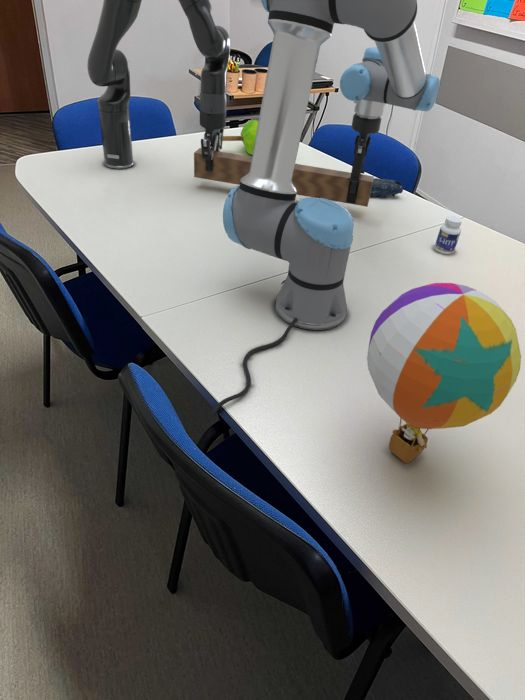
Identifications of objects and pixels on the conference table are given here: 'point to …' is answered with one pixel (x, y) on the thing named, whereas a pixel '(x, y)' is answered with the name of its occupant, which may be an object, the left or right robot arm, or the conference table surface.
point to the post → (303, 179)
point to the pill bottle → (448, 235)
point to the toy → (441, 360)
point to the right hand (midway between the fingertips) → (351, 198)
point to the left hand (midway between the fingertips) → (212, 168)
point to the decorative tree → (246, 136)
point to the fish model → (385, 187)
